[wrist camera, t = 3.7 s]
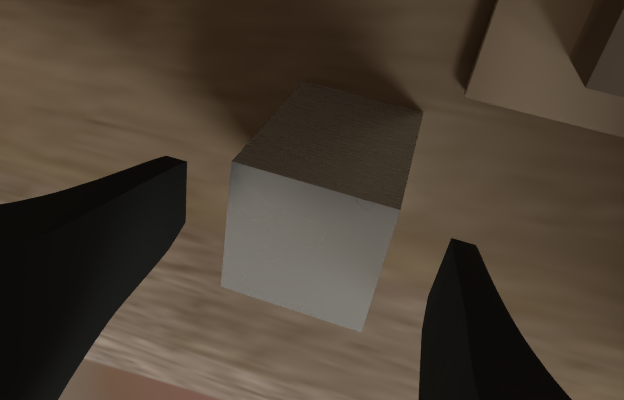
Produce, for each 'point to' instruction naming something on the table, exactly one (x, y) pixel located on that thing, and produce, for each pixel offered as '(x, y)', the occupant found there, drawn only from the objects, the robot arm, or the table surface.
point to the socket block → (555, 61)
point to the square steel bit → (318, 203)
